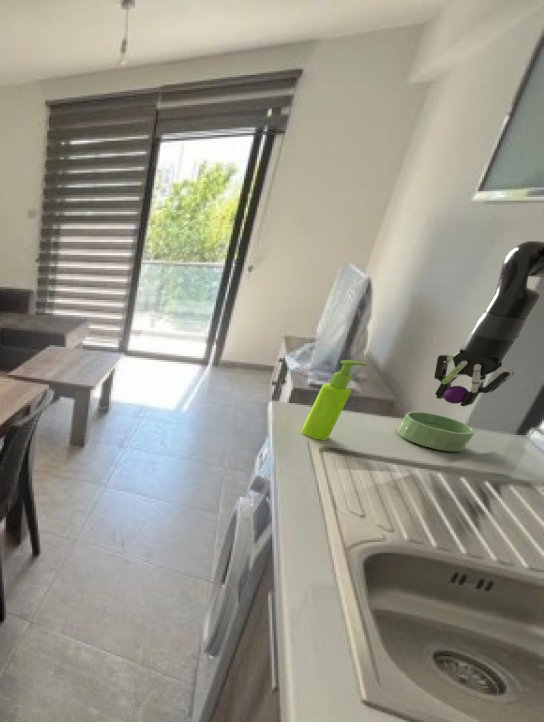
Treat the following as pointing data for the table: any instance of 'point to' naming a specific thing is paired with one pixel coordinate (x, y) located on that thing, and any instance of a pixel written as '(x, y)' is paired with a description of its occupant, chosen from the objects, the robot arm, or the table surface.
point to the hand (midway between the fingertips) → (451, 401)
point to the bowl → (435, 431)
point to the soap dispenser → (329, 403)
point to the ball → (455, 394)
